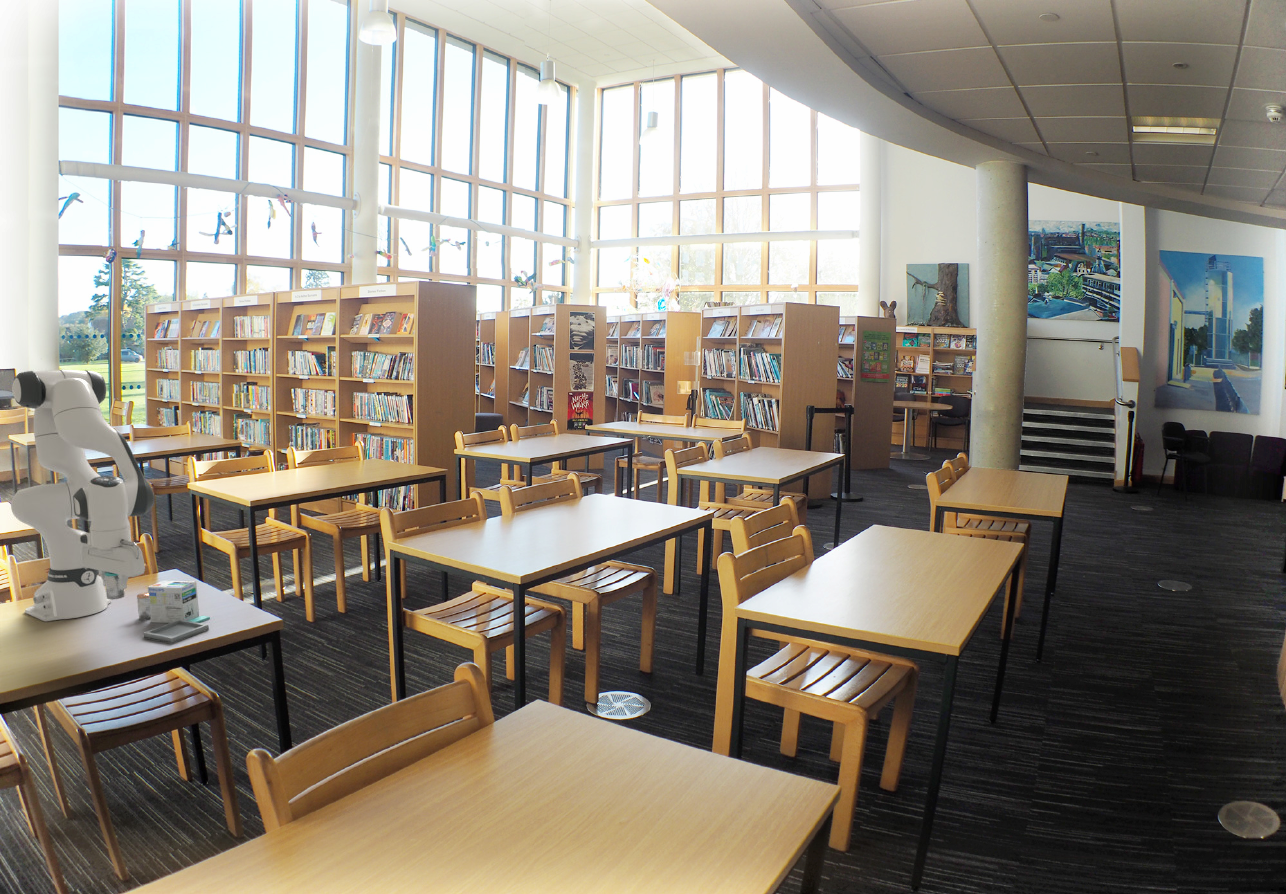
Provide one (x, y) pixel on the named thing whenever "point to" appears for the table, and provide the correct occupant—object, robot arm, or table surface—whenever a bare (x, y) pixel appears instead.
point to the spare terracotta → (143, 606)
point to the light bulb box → (173, 601)
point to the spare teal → (113, 586)
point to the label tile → (199, 619)
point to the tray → (176, 631)
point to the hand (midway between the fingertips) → (115, 587)
